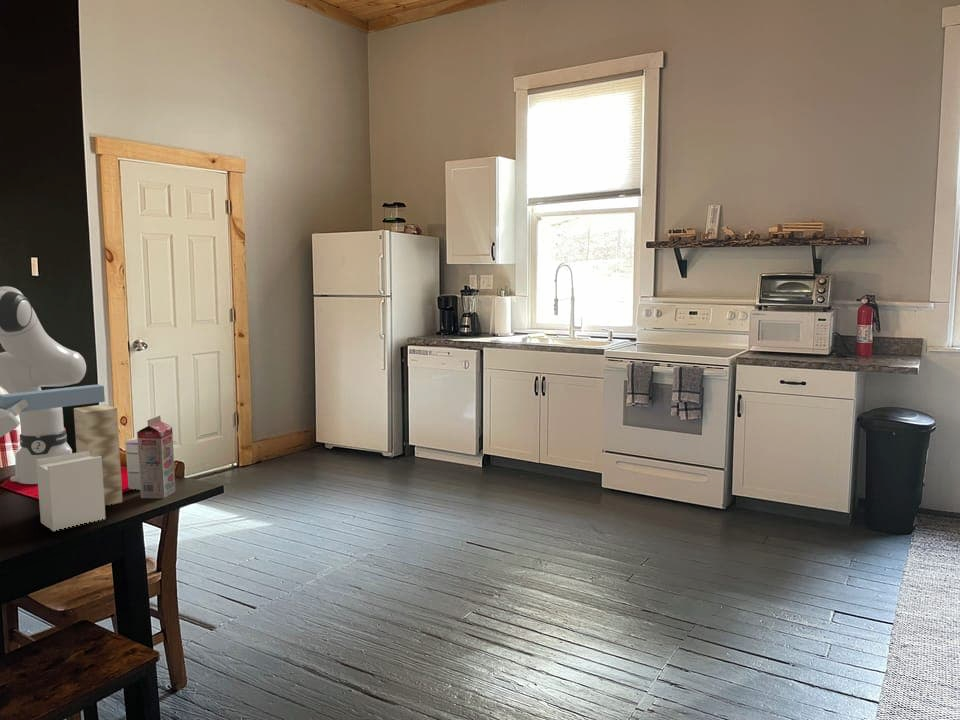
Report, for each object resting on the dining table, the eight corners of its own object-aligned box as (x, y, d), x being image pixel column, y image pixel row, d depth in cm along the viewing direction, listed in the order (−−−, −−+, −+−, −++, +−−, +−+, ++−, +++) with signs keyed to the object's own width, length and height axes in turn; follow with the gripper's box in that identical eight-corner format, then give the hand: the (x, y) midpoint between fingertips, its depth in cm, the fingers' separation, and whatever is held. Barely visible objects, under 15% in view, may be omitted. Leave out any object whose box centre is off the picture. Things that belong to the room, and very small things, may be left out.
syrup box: (146, 490, 209) (143, 440, 207) (127, 489, 210) (124, 439, 208) (158, 484, 215) (155, 436, 213) (140, 483, 216) (137, 435, 214)
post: (91, 509, 193) (85, 412, 189) (79, 502, 198) (73, 408, 195) (122, 502, 199) (116, 408, 195) (110, 495, 204) (105, 404, 201)
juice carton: (140, 497, 202) (136, 420, 200) (152, 490, 209) (148, 415, 206) (164, 498, 202) (160, 420, 199) (175, 491, 209) (171, 415, 206)
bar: (5, 414, 169) (3, 397, 168) (-1, 411, 172) (-2, 394, 171) (104, 401, 185) (103, 386, 185) (98, 399, 188) (97, 384, 187)
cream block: (53, 531, 176) (48, 466, 174) (40, 522, 182) (36, 459, 180) (105, 519, 185) (101, 456, 183) (91, 510, 191) (87, 450, 189)
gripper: (-33, 433, 157) (28, 394, 165) (-57, 420, 170) (0, 384, 178) (-13, 455, 160) (45, 416, 168) (-38, 440, 173) (17, 405, 181)
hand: (22, 400), depth 173 cm, fingers closed on bar, 4 cm apart
